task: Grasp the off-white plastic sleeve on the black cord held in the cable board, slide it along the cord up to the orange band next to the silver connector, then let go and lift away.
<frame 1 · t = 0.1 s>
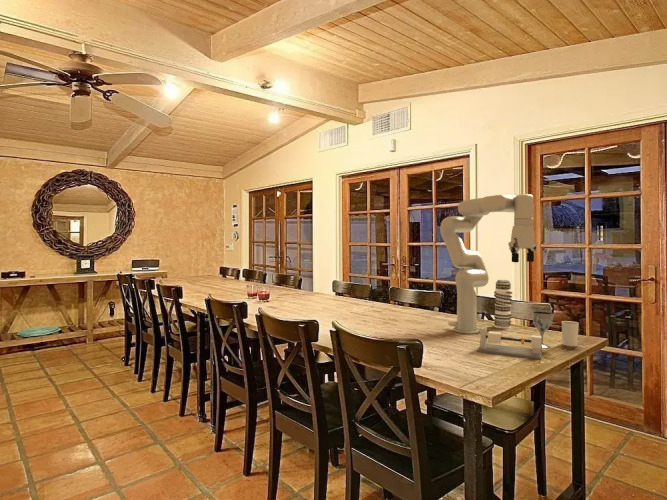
hand: (522, 261, 191), 37 cm above the table, tool pointing down, fingers open, 9 cm apart
decorative candle: (502, 327, 232), on the table
sleeve: (494, 337, 184), point 6 cm above the table, slide at -6.0 cm
beige cup: (569, 345, 195), on the table
wine glass: (541, 346, 192), on the table
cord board: (509, 352, 182), on the table
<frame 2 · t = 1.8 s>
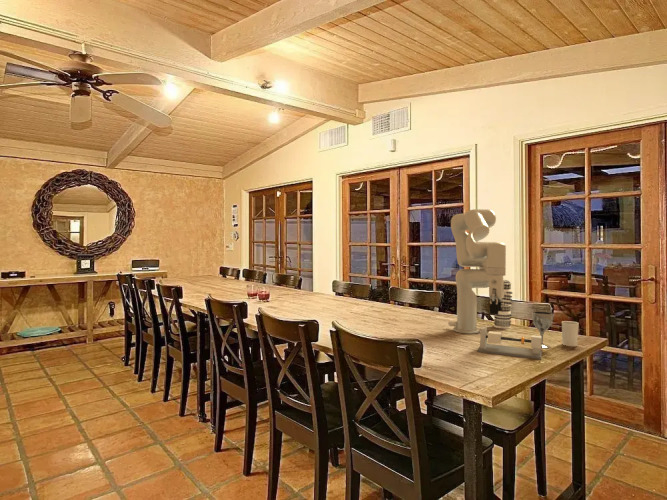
hand: (495, 312, 184), 16 cm above the table, tool pointing down, fingers open, 9 cm apart
nothing on the table moved.
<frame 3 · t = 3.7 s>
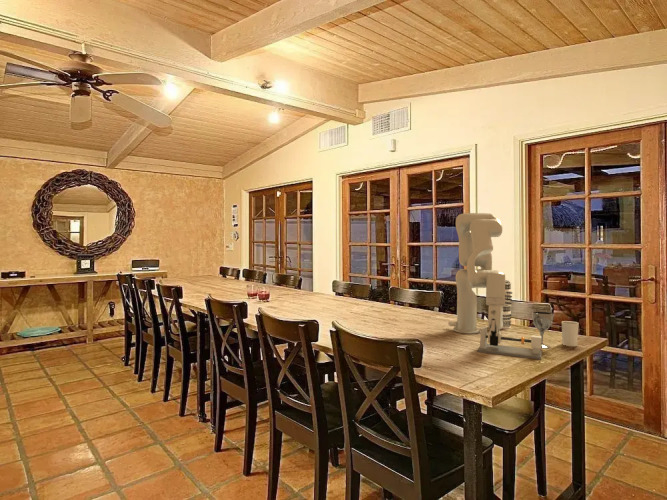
hand: (494, 343, 185), 3 cm above the table, tool pointing down, fingers closed on sleeve, 4 cm apart
sleeve: (494, 337, 184), point 5 cm above the table, slide at -6.0 cm, touching gripper
everything else where it was.
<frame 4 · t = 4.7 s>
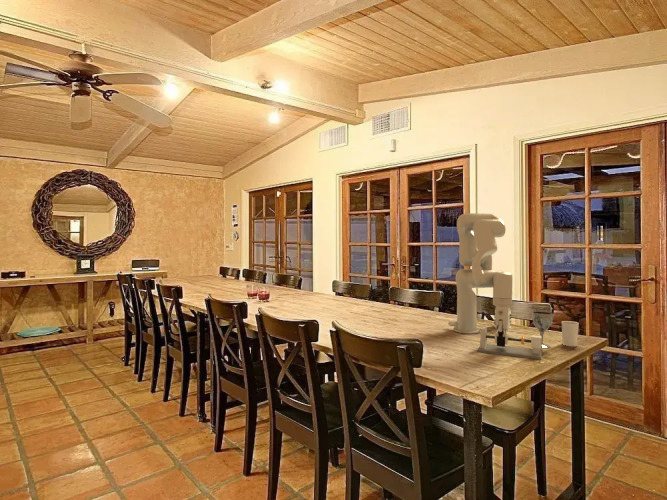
hand: (501, 344, 183), 3 cm above the table, tool pointing down, fingers closed on sleeve, 4 cm apart
sleeve: (501, 338, 183), point 5 cm above the table, slide at -3.2 cm, touching gripper
everything else where it was.
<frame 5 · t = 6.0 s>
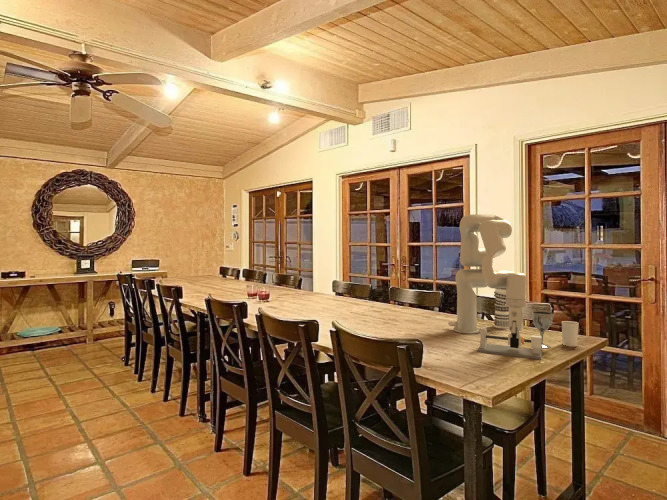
hand: (514, 346, 181), 3 cm above the table, tool pointing down, fingers closed on sleeve, 4 cm apart
sleeve: (515, 339, 181), point 5 cm above the table, slide at 2.0 cm, touching gripper
everything else where it was.
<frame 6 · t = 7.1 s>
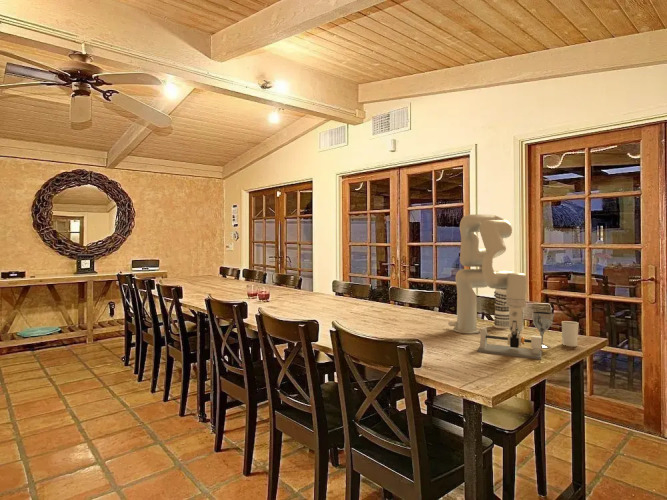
hand: (515, 344, 181), 3 cm above the table, tool pointing down, fingers open, 7 cm apart
sleeve: (514, 339, 181), point 5 cm above the table, slide at 1.8 cm
everything else where it was.
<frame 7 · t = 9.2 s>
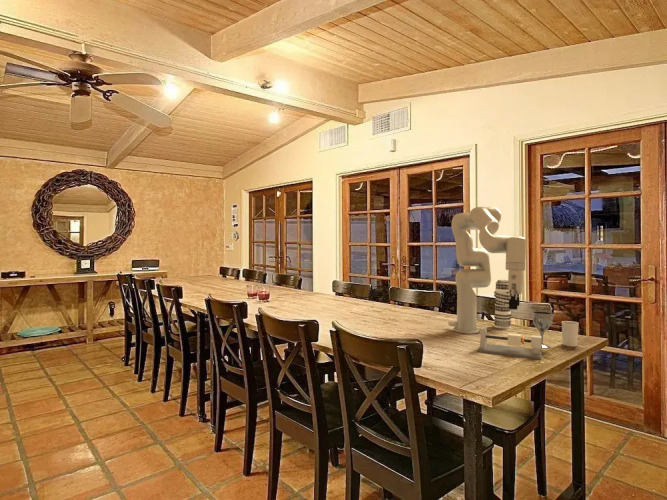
hand: (514, 307, 182), 19 cm above the table, tool pointing down, fingers open, 9 cm apart
nothing on the table moved.
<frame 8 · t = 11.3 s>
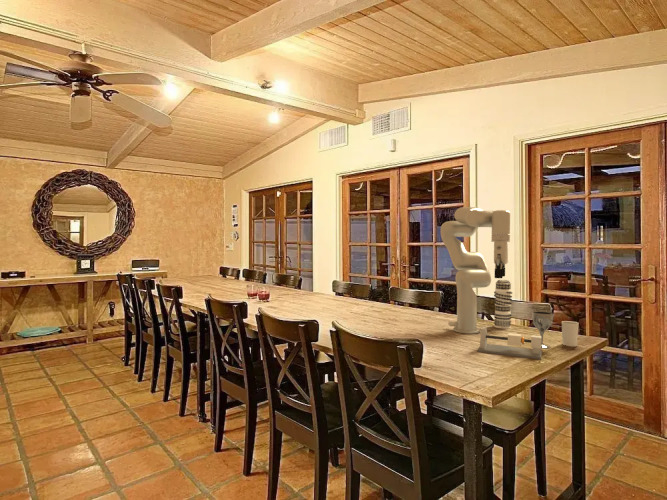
hand: (499, 277, 192), 30 cm above the table, tool pointing down, fingers open, 9 cm apart
nothing on the table moved.
at the end: sleeve slide at 1.8 cm; the gripper is holding nothing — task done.
